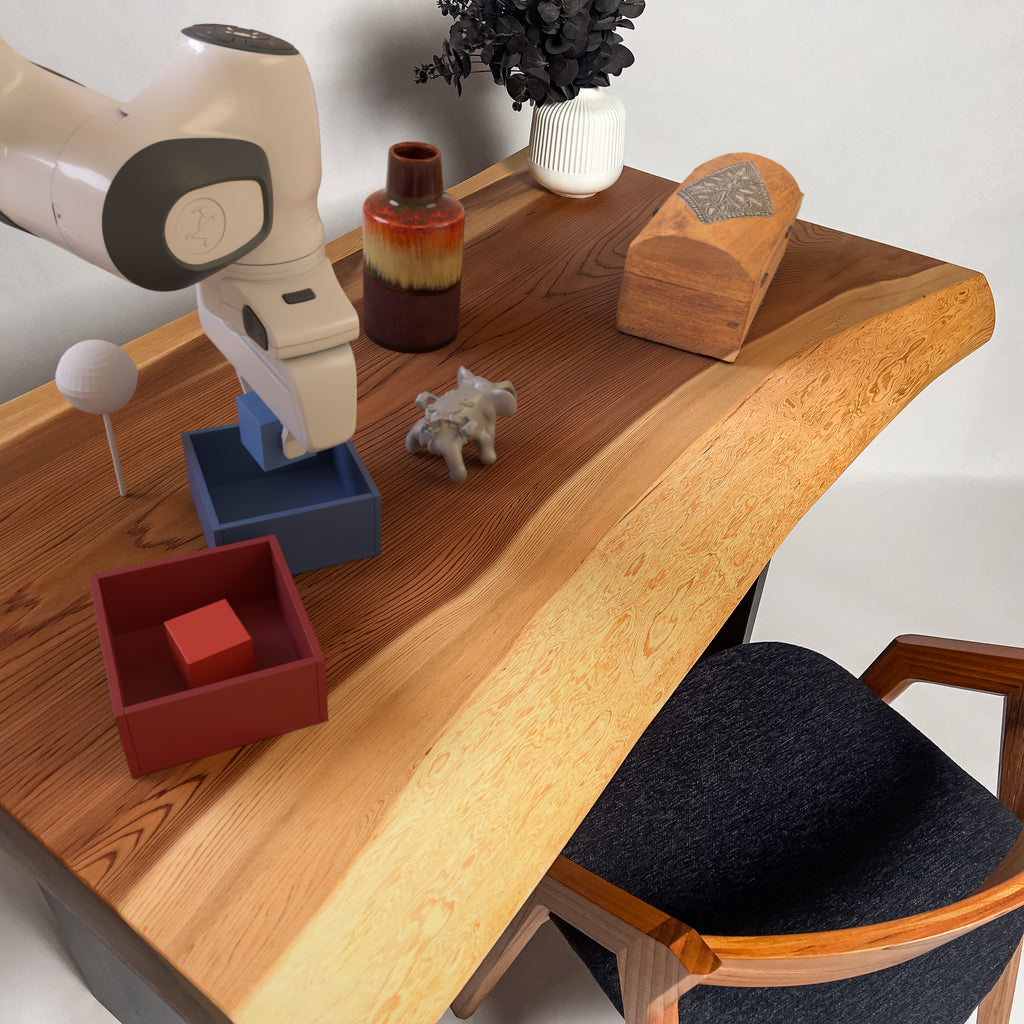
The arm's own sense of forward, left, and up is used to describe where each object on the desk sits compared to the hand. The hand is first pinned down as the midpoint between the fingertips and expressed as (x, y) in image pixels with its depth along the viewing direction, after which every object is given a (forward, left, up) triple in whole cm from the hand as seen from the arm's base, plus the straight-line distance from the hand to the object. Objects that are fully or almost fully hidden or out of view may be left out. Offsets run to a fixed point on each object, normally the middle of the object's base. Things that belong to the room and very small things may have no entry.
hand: (276, 433), depth 77 cm
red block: (-9, -15, -9) cm, 20 cm away
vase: (+22, +28, -10) cm, 37 cm away
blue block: (0, 0, -2) cm, 2 cm away
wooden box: (+60, +26, -10) cm, 66 cm away
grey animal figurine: (+19, +5, -10) cm, 22 cm away
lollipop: (-12, +8, -10) cm, 17 cm away
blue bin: (0, 0, -10) cm, 10 cm away
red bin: (-9, -15, -10) cm, 20 cm away
